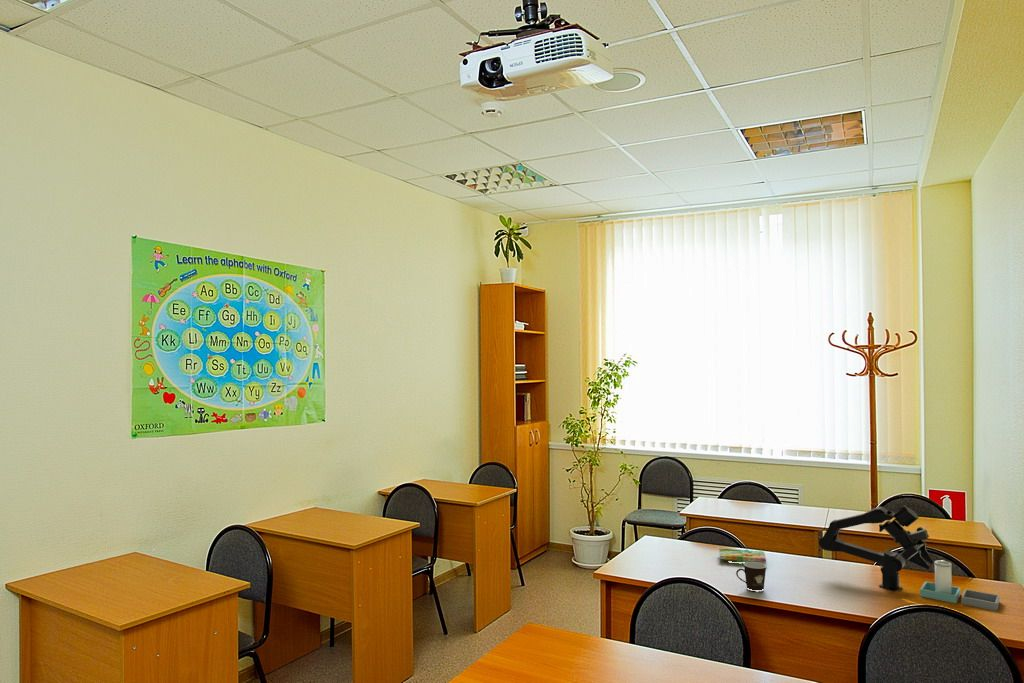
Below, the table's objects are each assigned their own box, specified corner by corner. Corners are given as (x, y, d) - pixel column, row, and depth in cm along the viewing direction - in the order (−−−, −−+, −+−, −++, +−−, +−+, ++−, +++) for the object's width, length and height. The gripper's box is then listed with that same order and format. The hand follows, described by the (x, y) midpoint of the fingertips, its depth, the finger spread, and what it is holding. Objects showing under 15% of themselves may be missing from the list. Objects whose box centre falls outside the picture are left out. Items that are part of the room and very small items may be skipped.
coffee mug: (766, 587, 281) (765, 563, 281) (766, 594, 272) (766, 569, 273) (736, 584, 284) (736, 560, 285) (736, 591, 276) (736, 566, 276)
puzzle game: (766, 557, 307) (719, 553, 313) (766, 567, 307) (719, 564, 313) (764, 549, 319) (719, 546, 324) (764, 560, 319) (719, 556, 324)
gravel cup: (946, 599, 264) (946, 563, 264) (931, 594, 269) (931, 559, 269) (955, 596, 267) (954, 561, 267) (939, 592, 272) (939, 557, 272)
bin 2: (996, 612, 252) (996, 603, 252) (961, 605, 259) (961, 596, 259) (999, 604, 261) (999, 595, 261) (965, 597, 268) (965, 588, 268)
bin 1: (956, 605, 260) (956, 596, 260) (920, 598, 268) (920, 589, 268) (960, 596, 269) (960, 587, 269) (925, 590, 277) (925, 581, 277)
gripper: (910, 526, 267) (944, 559, 260) (918, 517, 281) (951, 548, 274) (888, 543, 272) (920, 576, 265) (897, 533, 286) (929, 564, 279)
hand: (931, 565), depth 270 cm, fingers open, 9 cm apart
